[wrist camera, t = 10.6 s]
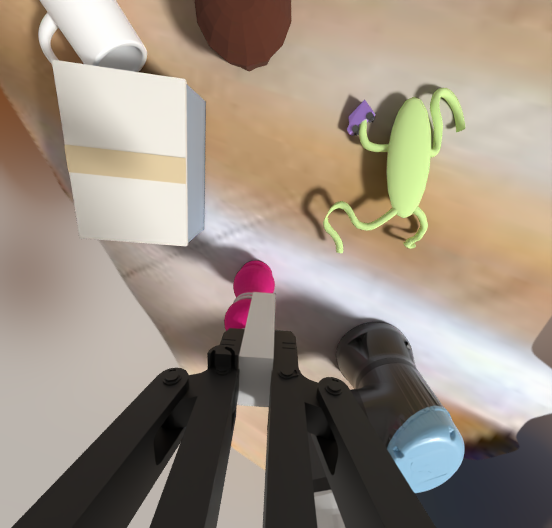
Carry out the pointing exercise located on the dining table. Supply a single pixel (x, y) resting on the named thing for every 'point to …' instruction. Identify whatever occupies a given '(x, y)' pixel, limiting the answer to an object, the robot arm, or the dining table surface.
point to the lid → (125, 152)
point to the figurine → (402, 158)
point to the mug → (93, 33)
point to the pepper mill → (248, 291)
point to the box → (195, 162)
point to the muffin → (244, 29)
